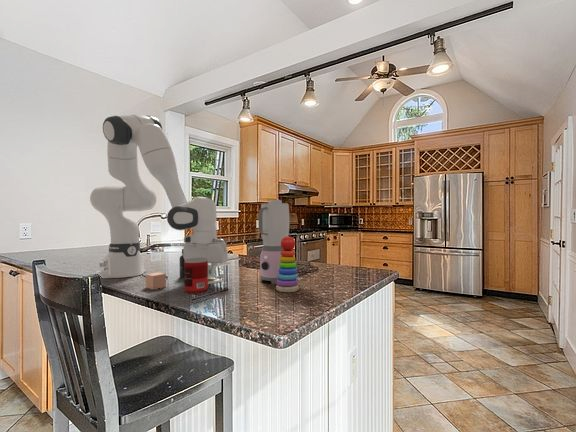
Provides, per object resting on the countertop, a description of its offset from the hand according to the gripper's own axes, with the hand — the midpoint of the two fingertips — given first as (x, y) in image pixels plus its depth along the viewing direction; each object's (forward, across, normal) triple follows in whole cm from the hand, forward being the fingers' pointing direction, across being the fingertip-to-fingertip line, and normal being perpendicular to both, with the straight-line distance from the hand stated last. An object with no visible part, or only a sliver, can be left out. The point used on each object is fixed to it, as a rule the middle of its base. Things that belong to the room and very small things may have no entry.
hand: (205, 273), depth 123 cm
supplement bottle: (+4, +14, -4) cm, 15 cm away
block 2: (+2, 0, 0) cm, 2 cm away
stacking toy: (+4, -35, -3) cm, 35 cm away
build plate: (+3, 0, 0) cm, 3 cm away
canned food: (+4, -7, +12) cm, 14 cm away
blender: (+4, -23, -13) cm, 27 cm away
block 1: (+4, +10, +15) cm, 18 cm away
